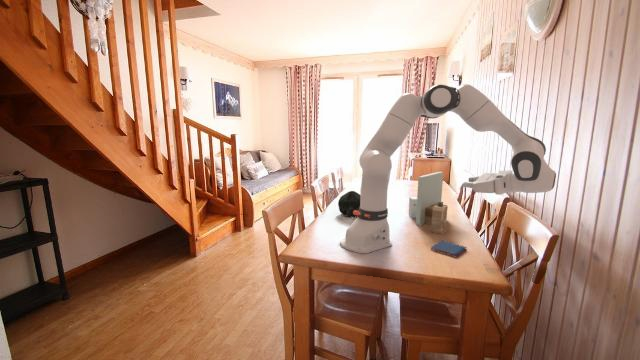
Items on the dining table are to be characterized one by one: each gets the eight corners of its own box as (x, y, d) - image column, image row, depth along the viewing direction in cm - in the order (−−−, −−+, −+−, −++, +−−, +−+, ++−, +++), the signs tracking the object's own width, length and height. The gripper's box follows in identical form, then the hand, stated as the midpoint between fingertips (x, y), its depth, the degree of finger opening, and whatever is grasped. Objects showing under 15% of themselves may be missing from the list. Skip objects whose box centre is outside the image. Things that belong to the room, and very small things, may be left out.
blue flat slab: (440, 243, 123) (441, 239, 122) (467, 251, 115) (467, 246, 115) (428, 251, 116) (429, 246, 115) (456, 259, 108) (456, 254, 108)
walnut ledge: (435, 225, 142) (436, 210, 141) (424, 223, 146) (425, 207, 145) (446, 220, 150) (447, 205, 149) (435, 217, 154) (436, 203, 153)
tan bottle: (440, 234, 132) (442, 204, 129) (430, 231, 135) (432, 202, 132) (445, 231, 135) (447, 201, 133) (436, 228, 139) (438, 200, 136)
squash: (352, 200, 171) (342, 183, 162) (374, 205, 161) (364, 188, 152) (340, 219, 166) (328, 203, 157) (361, 226, 156) (350, 210, 146)
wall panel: (419, 225, 143) (422, 177, 139) (415, 224, 145) (418, 176, 140) (440, 215, 158) (443, 172, 153) (436, 215, 159) (439, 171, 155)
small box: (423, 215, 159) (424, 196, 157) (426, 218, 154) (427, 199, 152) (408, 215, 160) (409, 196, 158) (410, 218, 155) (411, 198, 153)
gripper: (507, 168, 124) (471, 170, 133) (498, 179, 109) (458, 180, 118) (508, 183, 125) (472, 183, 134) (499, 195, 109) (460, 195, 119)
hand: (466, 182), depth 126 cm, fingers open, 8 cm apart
